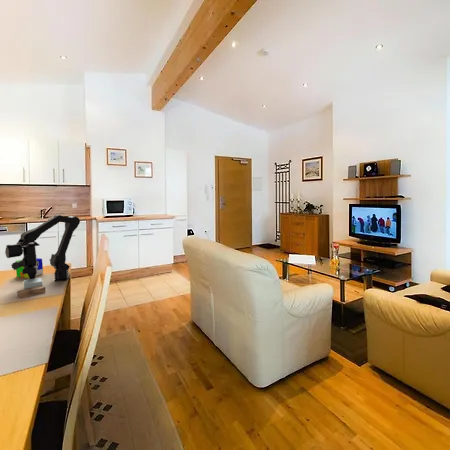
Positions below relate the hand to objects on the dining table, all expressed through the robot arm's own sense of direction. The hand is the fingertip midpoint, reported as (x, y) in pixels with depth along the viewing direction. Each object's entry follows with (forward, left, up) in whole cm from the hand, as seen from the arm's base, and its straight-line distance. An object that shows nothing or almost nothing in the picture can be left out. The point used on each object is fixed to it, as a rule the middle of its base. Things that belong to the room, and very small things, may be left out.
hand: (32, 281), depth 158 cm
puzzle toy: (+12, -25, -3) cm, 28 cm away
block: (-3, +5, -3) cm, 7 cm away
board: (-6, +13, -3) cm, 15 cm away
